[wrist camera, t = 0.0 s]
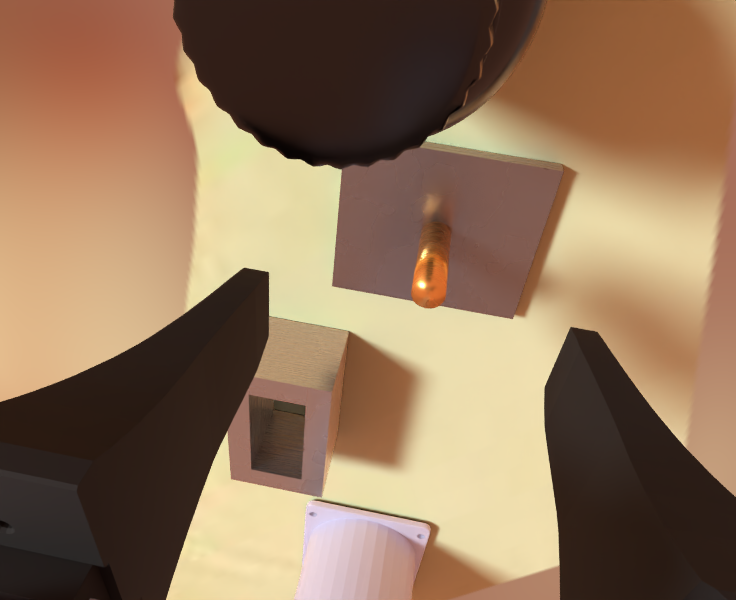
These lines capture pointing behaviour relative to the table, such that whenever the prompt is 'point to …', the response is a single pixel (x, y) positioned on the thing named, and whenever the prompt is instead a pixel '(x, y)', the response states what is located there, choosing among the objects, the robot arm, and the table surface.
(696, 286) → the table surface
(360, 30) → the supplement bottle
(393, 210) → the keeper
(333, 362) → the hollow rectangular frame
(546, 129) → the table surface
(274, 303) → the table surface
